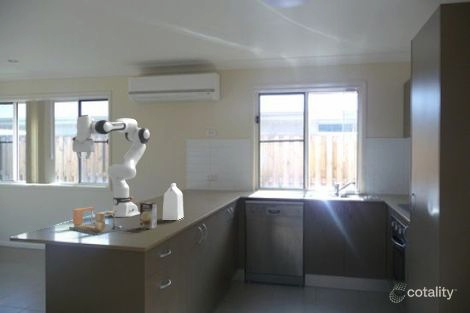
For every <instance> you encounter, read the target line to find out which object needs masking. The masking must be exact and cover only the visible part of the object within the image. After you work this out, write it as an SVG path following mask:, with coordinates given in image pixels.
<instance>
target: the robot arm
mask: <svg viewBox="0 0 470 313" xmlns="http://www.w3.org/2000/svg"><path fill="white" fill-rule="evenodd" d="M76 130H77V132H76V135H75V136H74V137H72V139H71V140H72V141H73V142H72V144H71V145H72V146H71V147H72V152H73V153H75V154H76V156H77V159H82V156H81V153H86V155H85V159H86V160H90V157H91V154H92V153H94V152H95V150H96V149H95V148H96V147H95V141H94V139H93V138H92V135H108V134H109V133H111V132H116V133H121V134H124V137H125V139H126V140H127V141H128V142H132V145H131V146H130V148H129V149H128V150H127V152H126V153H125V155H124V156H123V160H124V161H123V163H122V164H117V163H115V164H112V165H110V166H108V169H107V170H106V171H107V174H108V175H107V176H109V178H110V180H111V182H112V184H113V199H112V200H113V201H112V202H113V207H112V211H116V213H115V218H124V217H125V218H127V217H128V218H129V217H133V216H137V215H140V211H139V208H138V206H137V205H136V204H135V203H134V202H132V200H134V197H133V196H130V187H129V185H128V183H127V182H126V180H131V179H134V178H136V176H137V170H136V166H137V164H138V162H139V161H140V159H141V158H142V156H143V155H144V153H145V151H146V148H147V146H146V144H147V143H149V142H148V141H149V140H150V138H151V131H150V130H149V129H148V128H145V127H138V122H137V121H136V119H134V118H127V117H123V118H117V119H115V120H114V121H109V120H106V119H100V120H95V119H94V118H92V117H91V115H89V114H82V115H79V116H78V117H77V120H76ZM111 217H113V214H111Z"/></svg>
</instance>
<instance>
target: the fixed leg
mask: <svg viewBox="0 0 470 313" xmlns="http://www.w3.org/2000/svg"><path fill="white" fill-rule="evenodd" d="M115 213H116V211H113V210H111V211H110V210H109V211H104V212H96V213H95V214H94V221H95V227H92V226H87V225H85V224H79V225H75V224H73V227H77V228H82V229H87V230H92V231H97V232H104V229H105V224H106V216H108V215H112V214H113V216H112V219H113V220H112V225H113V228H115V226H116V217H115Z"/></svg>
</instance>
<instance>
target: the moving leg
mask: <svg viewBox="0 0 470 313" xmlns="http://www.w3.org/2000/svg"><path fill="white" fill-rule="evenodd" d="M93 210H95V206H90V207H84V208H75V209H72V225H74V224H75V225H79V224H82V225H84V224H83V223H84V217H83V216H84V215H83V214H84V212H86V211H90V216H91V217H90V223H94V212H93Z"/></svg>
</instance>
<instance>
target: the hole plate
mask: <svg viewBox="0 0 470 313" xmlns="http://www.w3.org/2000/svg"><path fill="white" fill-rule="evenodd" d="M84 225H87V226H92V227H95V220H93V223H91V222H90V223H86V224H84ZM68 230H71V231H76V232H80V233H84V234H89V235H95V236H101V235H104V234H109V233H115V232H119V231H123V230H126V227H125V226H122V225H115V228H113V224H109V223H105V229H104V232H97V231H92V230H87V229H82V228H77V227H74V226H70V227H68Z"/></svg>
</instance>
